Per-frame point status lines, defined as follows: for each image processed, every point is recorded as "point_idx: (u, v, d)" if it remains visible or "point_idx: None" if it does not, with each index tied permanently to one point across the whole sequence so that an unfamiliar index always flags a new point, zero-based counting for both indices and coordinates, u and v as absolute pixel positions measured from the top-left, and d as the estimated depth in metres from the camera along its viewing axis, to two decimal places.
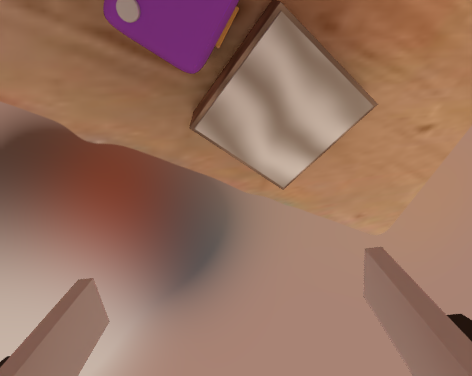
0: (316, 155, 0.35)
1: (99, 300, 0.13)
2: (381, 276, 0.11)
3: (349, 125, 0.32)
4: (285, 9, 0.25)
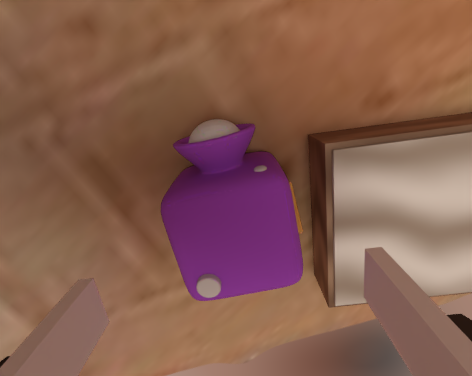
0: None
1: (99, 300, 0.13)
2: (381, 276, 0.11)
3: None
4: (335, 144, 0.20)
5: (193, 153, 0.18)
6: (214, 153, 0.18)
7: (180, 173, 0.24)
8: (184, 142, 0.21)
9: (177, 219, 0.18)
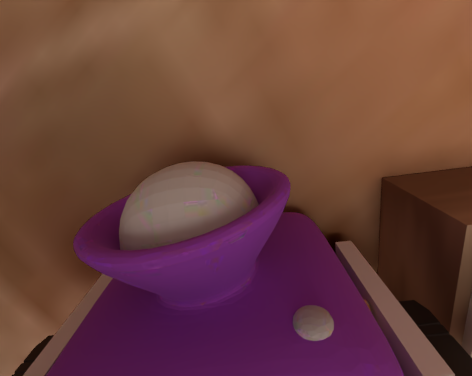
0: None
1: None
2: (347, 267, 0.11)
3: None
4: None
5: (113, 277, 0.06)
6: (175, 282, 0.06)
7: None
8: (119, 212, 0.09)
9: None
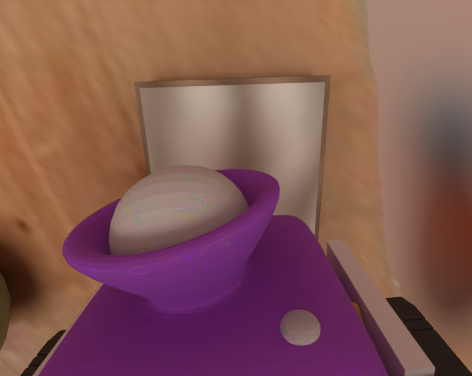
0: (244, 88, 0.21)
1: None
2: (337, 265, 0.12)
3: (179, 90, 0.21)
4: None
5: (101, 282, 0.06)
6: (162, 286, 0.06)
7: None
8: (111, 215, 0.09)
9: None
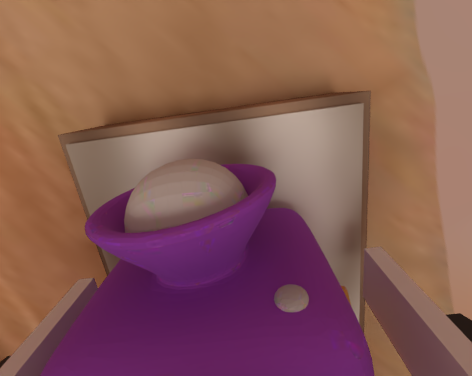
0: (230, 127, 0.13)
1: None
2: (380, 276, 0.11)
3: (127, 141, 0.13)
4: None
5: (120, 257, 0.07)
6: (173, 260, 0.07)
7: None
8: (124, 204, 0.10)
9: None
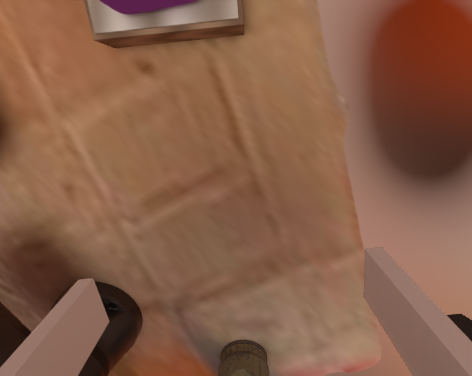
0: None
1: (99, 300, 0.13)
2: (381, 276, 0.11)
3: None
4: (92, 31, 0.28)
5: None
6: None
7: None
8: None
9: None
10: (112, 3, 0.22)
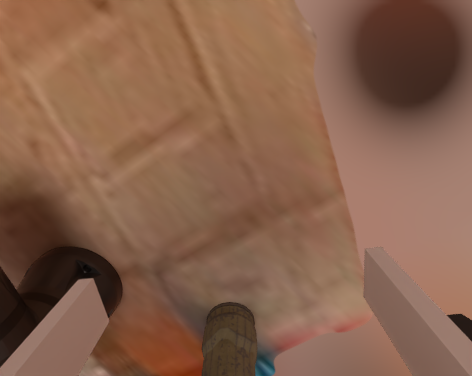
0: None
1: (99, 300, 0.13)
2: (381, 276, 0.11)
3: None
4: None
5: None
6: None
7: None
8: None
9: None
10: None
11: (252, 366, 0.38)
